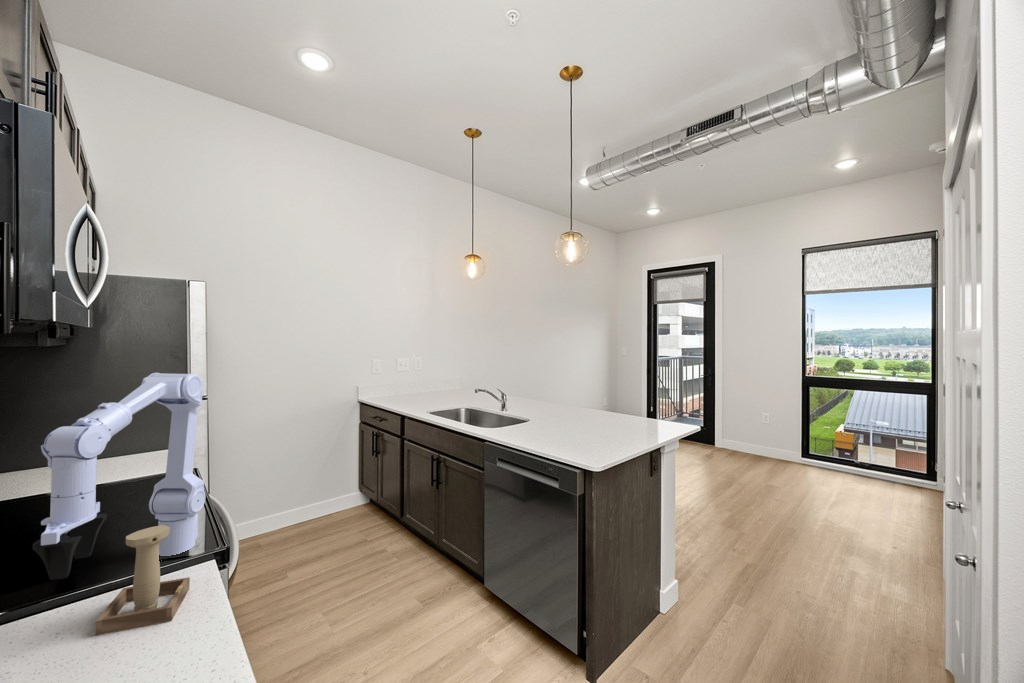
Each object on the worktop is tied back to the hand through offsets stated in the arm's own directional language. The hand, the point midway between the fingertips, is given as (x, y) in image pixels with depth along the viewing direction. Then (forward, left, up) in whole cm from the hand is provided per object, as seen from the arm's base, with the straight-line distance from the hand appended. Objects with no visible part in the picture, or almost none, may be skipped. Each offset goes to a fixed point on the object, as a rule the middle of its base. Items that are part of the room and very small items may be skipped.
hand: (71, 567), depth 77 cm
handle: (0, +11, -11) cm, 15 cm away
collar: (0, +11, -10) cm, 15 cm away
